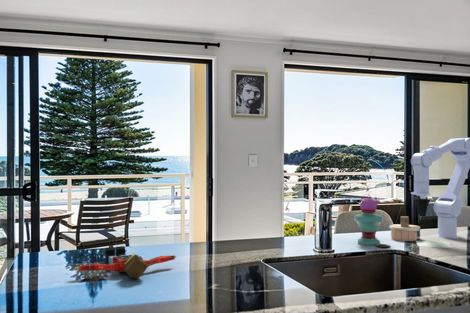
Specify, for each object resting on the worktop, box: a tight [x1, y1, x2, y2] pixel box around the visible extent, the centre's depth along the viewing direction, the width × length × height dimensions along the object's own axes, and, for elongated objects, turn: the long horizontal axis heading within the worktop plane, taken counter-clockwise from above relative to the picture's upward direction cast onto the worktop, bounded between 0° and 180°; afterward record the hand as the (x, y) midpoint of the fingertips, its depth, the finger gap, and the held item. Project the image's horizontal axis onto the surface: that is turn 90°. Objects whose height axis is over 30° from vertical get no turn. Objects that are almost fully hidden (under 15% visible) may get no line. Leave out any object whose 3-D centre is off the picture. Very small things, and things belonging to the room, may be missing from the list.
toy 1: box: [74, 245, 177, 281], centre depth 140 cm, size 31×8×30 cm
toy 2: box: [354, 197, 384, 247], centre depth 180 cm, size 11×11×18 cm
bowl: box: [390, 229, 418, 242], centre depth 188 cm, size 10×10×4 cm
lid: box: [388, 215, 421, 232], centre depth 188 cm, size 12×12×5 cm
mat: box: [415, 240, 454, 249], centre depth 176 cm, size 12×12×1 cm
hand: (421, 215), depth 186 cm, fingers open, 7 cm apart
